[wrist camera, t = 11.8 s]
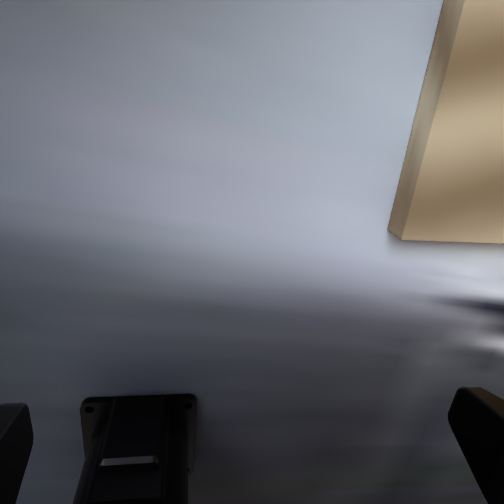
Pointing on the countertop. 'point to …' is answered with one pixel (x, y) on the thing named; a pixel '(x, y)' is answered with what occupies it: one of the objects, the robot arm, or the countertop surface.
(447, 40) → the post board
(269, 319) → the countertop surface
